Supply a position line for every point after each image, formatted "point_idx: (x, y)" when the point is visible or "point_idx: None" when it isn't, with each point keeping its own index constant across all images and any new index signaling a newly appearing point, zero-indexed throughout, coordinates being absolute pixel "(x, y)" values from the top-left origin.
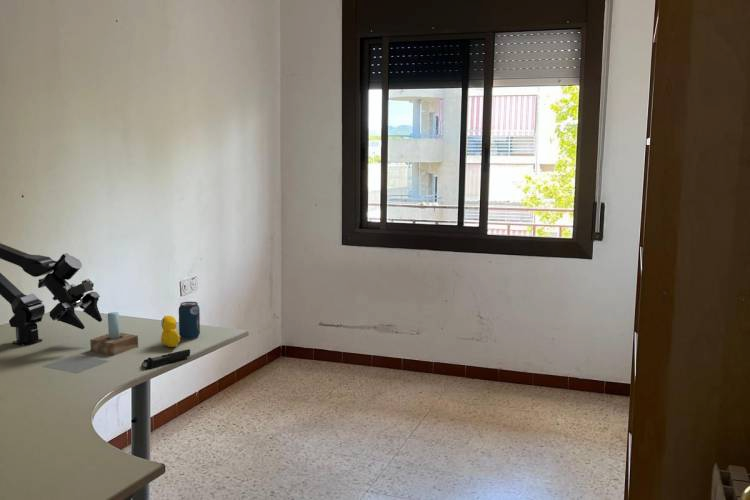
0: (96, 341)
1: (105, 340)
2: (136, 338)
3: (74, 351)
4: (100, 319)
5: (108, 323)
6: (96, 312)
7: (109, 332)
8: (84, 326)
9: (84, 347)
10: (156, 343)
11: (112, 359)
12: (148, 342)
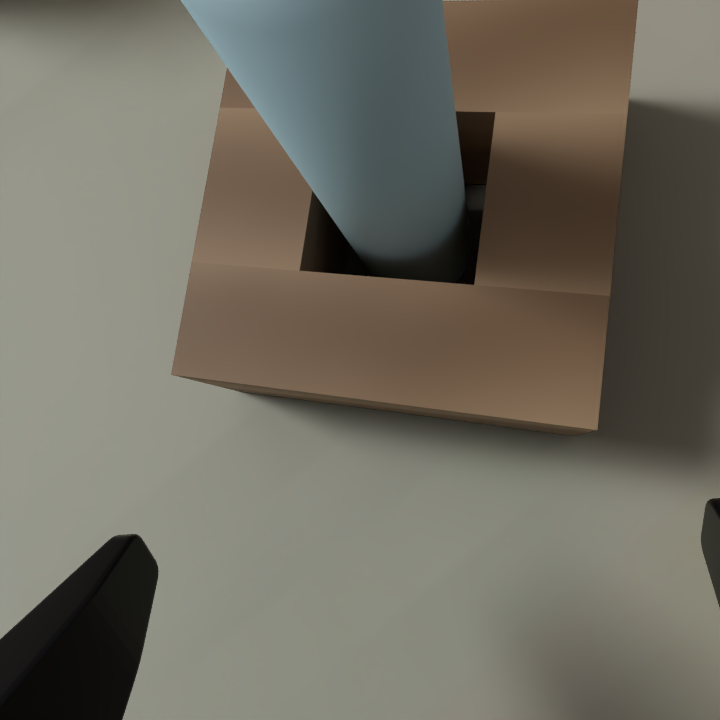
0: (604, 312)
1: (555, 198)
2: None
3: (640, 631)
4: (129, 561)
5: (429, 109)
6: (13, 714)
7: (456, 167)
8: (718, 508)
9: (463, 618)
10: (136, 38)
11: (710, 39)
12: (128, 119)
